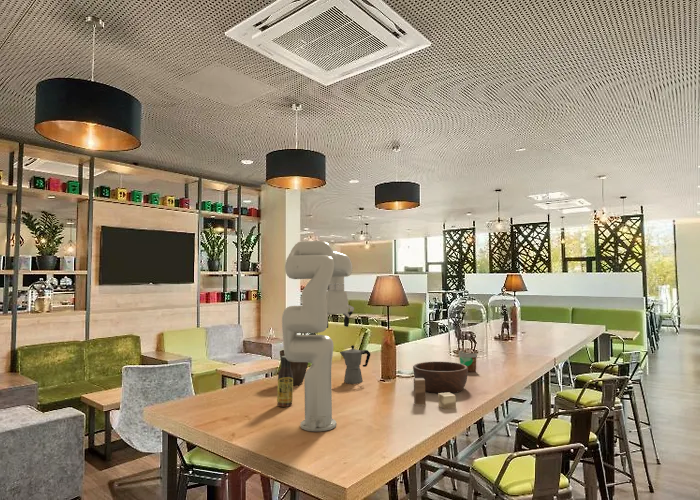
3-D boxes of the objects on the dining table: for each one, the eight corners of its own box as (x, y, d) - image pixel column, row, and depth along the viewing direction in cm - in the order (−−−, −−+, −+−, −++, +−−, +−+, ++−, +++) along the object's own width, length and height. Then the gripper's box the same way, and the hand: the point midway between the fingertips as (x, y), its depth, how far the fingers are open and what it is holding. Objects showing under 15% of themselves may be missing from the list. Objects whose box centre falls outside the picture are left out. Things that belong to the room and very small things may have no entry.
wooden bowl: (403, 386, 215) (402, 364, 216) (444, 380, 227) (444, 359, 227) (436, 398, 193) (435, 374, 194) (480, 390, 204) (479, 367, 205)
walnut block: (425, 405, 183) (425, 380, 183) (415, 405, 182) (415, 380, 183) (423, 402, 187) (423, 377, 187) (414, 402, 186) (413, 378, 187)
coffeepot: (339, 384, 222) (338, 346, 223) (340, 379, 231) (340, 344, 232) (370, 384, 221) (370, 346, 222) (371, 379, 230) (370, 343, 231)
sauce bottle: (278, 408, 182) (277, 358, 183) (276, 404, 188) (276, 355, 189) (294, 406, 183) (293, 357, 185) (292, 402, 189) (291, 354, 191)
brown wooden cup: (312, 380, 231) (312, 348, 232) (307, 387, 216) (306, 353, 217) (283, 380, 233) (283, 348, 234) (276, 387, 218) (276, 353, 219)
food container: (454, 369, 252) (453, 351, 253) (462, 368, 255) (462, 350, 256) (468, 373, 241) (468, 354, 242) (477, 372, 244) (477, 353, 244)
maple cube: (456, 408, 178) (455, 395, 178) (444, 409, 177) (444, 396, 177) (449, 404, 183) (449, 392, 183) (438, 406, 181) (438, 393, 182)
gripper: (320, 288, 195) (321, 329, 194) (356, 288, 202) (357, 326, 201) (314, 288, 202) (315, 327, 200) (349, 288, 209) (350, 325, 208)
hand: (336, 327), depth 201 cm, fingers open, 9 cm apart
